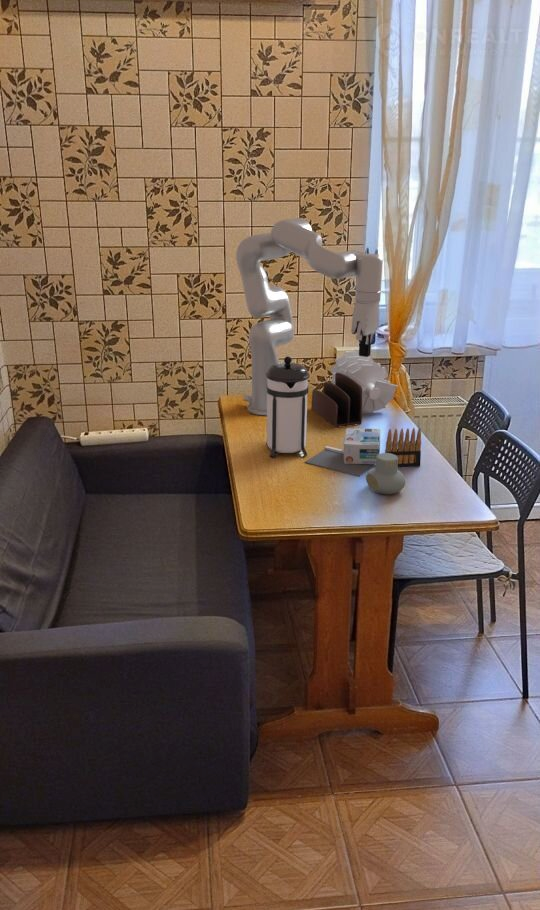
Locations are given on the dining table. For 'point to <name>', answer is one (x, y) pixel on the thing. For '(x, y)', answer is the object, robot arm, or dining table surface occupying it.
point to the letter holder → (339, 401)
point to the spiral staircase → (366, 379)
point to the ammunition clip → (405, 448)
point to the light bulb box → (361, 446)
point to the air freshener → (386, 475)
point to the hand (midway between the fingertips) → (364, 355)
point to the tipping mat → (337, 462)
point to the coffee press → (286, 407)
